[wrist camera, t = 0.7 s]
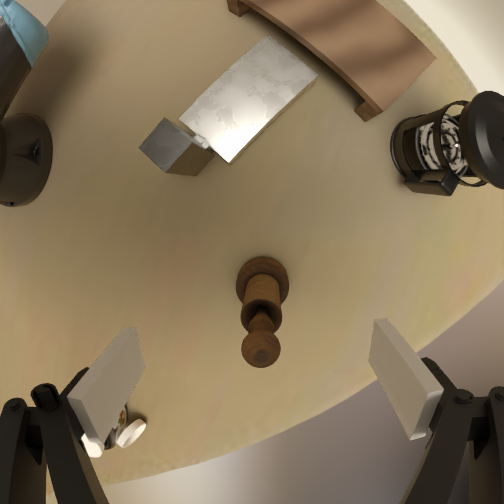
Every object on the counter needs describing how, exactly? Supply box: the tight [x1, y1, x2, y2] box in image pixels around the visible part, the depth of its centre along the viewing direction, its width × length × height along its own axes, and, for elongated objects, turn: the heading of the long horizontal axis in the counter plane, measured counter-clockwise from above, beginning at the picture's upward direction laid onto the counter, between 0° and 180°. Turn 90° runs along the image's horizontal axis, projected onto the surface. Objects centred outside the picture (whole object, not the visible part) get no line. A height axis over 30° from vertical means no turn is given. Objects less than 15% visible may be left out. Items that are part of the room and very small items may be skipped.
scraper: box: [139, 35, 318, 176], centre depth 28 cm, size 8×19×12 cm, turn 136°
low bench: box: [227, 0, 436, 122], centre depth 28 cm, size 24×12×6 cm, turn 46°
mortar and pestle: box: [236, 257, 289, 368], centre depth 30 cm, size 7×6×18 cm
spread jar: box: [81, 405, 146, 457], centre depth 40 cm, size 12×11×12 cm
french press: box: [390, 91, 504, 196], centre depth 23 cm, size 12×9×23 cm
